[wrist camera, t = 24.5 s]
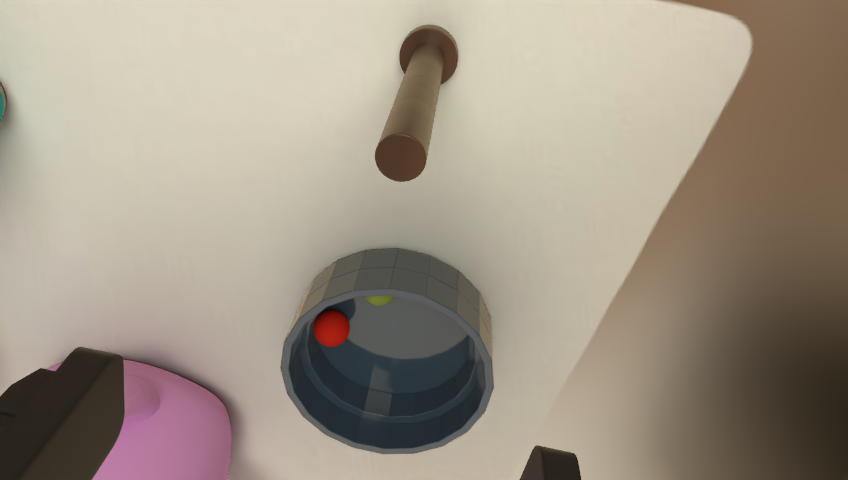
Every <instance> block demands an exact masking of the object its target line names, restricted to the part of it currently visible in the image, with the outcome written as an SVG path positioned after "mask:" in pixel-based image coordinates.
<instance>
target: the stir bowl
mask: <svg viewBox="0 0 848 480" xmlns="http://www.w3.org/2000/svg"><path fill="white" fill-rule="evenodd" d="M388 295H389V296H394V297H393V299H392V300H391V301H390V302H389V303H387V304H385V305H381V306H377V305H373V304H371V303H369V302H368V301H367V300H366V298H365V297H366V296H388ZM327 310H336V311H339V312H341V313H342V314H344V315H345V316H346V318H347V319H348V321H349V325H350V331H349V335H348V337H347V339H346V340H345V341H344V342H343V343H342V344H340V345H338V346H334V347H327V346H324V345H322V344H320V343H319V342H318V341H317V340H316V338H315V336H314V333H313V324H314V321H315V319H316V318H317V317H318V316H319V315H320V314H321V313H322V312H324V311H327ZM281 371H282V375H283V379H284V383H285V387H286V390H287V393H288V395H289V397H290V398H291V400H292V401H293V403H294V404H295V406H296V407H297V408H298V410H299V411H300V413H301V414H302V416H303V417H304V418H306V419H307V420H308V421H309V422H310V423H312V424H313V425H314V426H315V427H317V428H318V429H319V430H320V431H321V432H323V433H324V434H325V435H327V436H329V437H331V438H334V439H336V440H338V441H340V442H342V443H344V444H346V445H349V446H351V447H354V448H357V449H362V450H367V451H371V452H376V453H381V454H414V453H419V452H423V451H426V450H430V449H434V448H438V447H442V446H444V445H446V444H447V443H449V442H451V441H453V440H454V439H456V438H458V437H459V436H461V435H463V434H465V433H466V432H467V431H469V429H470V428H471V427H472V426H473V425H474V424H475V423H476V421H477V420H478V419H479V418H480V417H481V416H482V415H483V413H484V412H485V410H486V408H487V405H488V402H489V399H490V396H491V394H492V391H493V387H494V380H493V353H492V332H491V317H490V314H489V312H488V310H487V308H486V306H485V304H484V301H483V299H482V297H481V295H480V293H479V291H478V290H477V289H476V288H475V287H474V286H473V285H472V284H471V283H470V282H469V281H468V280H467V279H466V278H465V277H464V276H463V275H462V274H461V273H460V272H459V271H457V270H456V269H454V268H452V267H450V266H448V265H447V264H445V263H443V262H441V261H439V260H437V259H436V258H434V257H432V256H429V255H425V254H421V253H416V252H412V251H407V250H403V249H398V248H396V249H377V250H365V251H362V252H359V253H356V254H354V255H351V256H348V257H345V258H342V259H340V260H337V261H336V262H335V263H333V264H332V265H331V266H329V267H328V268H327V269H326V270H324V271H323V272H322V273H321V274H319V275H318V276H317V277H316V278H315V279H314V281H313V282H312V284H311V286H310V287H309V289H308V291H307V292H306V294H305V296H304V297H303V299H302V301H301V304H300V306H299V308H298V311H297V313H296V315H295V318H294V320H293V322H292V325H291V327H290V329H289V332H288V334H287V337H286V339H285V341H284V346H283V353H282V361H281Z"/></svg>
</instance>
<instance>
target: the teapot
mask: <svg viewBox="0 0 848 480" xmlns="http://www.w3.org/2000/svg"><path fill="white" fill-rule="evenodd" d="M123 362H124V403H125V415H124V421H123V425H122V429H121V432H120V434H119V437H118V439H117V441H116V443H115V445H114V447H113V448H112V450H111V451H110V453H109V454H108V456H107V457H106V459H105V460H104V462H103V464H102V465H101V467H100V468H99V470H98V471H97V473H96V474H95V476H94V477H93V479H92V480H226V478H227V475H228V470H229V465H230V458H231V448H232V430H231V425H230V420H229V417H228V413H227V410H226V408H225V406H224V405H223V403H222V402H221V401H220V400H219V399H218V398H217V397H216V396H215V395H213V394H212V393H211V392H209V391H208V390H206V389H204V388H202V387H201V386H199V385H197V384H195V383H193V382H191V381H189V380H187V379H185V378H182V377H180V376H178V375H176V374H173V373H171V372H168V371H166V370H163V369H160V368H157V367H154V366H151V365H147V364H143V363H139V362H134V361H129V360H123ZM62 363H63V362H61V363H59V364H56V365H54V366H51V367H49V368H48V369H47V370H52V371H56V370H57V369H58V367H59V366H60V365H61V364H62Z"/></svg>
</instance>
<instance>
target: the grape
mask: <svg viewBox="0 0 848 480" xmlns="http://www.w3.org/2000/svg"><path fill="white" fill-rule="evenodd" d="M393 297H394V296H389V295H388V296H366V297H365V298H366V300H367V301H368V302H369V303H371V304H373V305H377V306H381V305H385V304H387V303H389V302H390V301H391V300H392V299H393Z"/></svg>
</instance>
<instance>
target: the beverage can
mask: <svg viewBox="0 0 848 480" xmlns="http://www.w3.org/2000/svg"><path fill="white" fill-rule="evenodd" d="M5 108H6V98H5V94H4V91H3V88H2V86H1V84H0V120H1V118H2V116H3V114H4V112H5Z"/></svg>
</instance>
